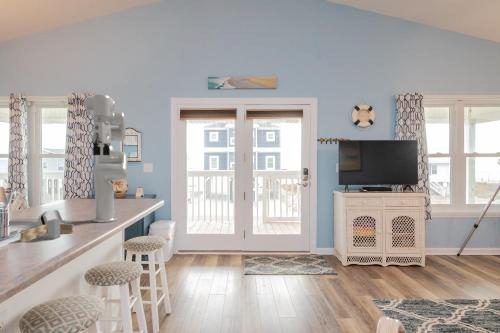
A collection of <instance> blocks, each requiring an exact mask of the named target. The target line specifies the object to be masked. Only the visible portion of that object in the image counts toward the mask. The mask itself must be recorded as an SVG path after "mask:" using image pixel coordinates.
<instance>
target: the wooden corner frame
mask: <svg viewBox="0 0 500 333" xmlns="http://www.w3.org/2000/svg"><path fill="white" fill-rule="evenodd" d="M42 233H47V234H48V224H45V225H42V226H40V225H38V226H37V227H33V228H29V229H26V230H24V231H21V232H20V243H25V242H26V241H29V240H33V239H36V236H37V235H39V234H42ZM73 233H74V224H73V223H66V224H60V234H73Z"/></svg>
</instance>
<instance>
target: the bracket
mask: <svg viewBox="0 0 500 333" xmlns="http://www.w3.org/2000/svg"><path fill="white" fill-rule="evenodd" d="M59 238H61V233H60V219H52V220H49V221H48V233H42V234H39V235H37V236H36V238H35V239H36V240H57V239H59Z"/></svg>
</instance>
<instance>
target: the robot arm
mask: <svg viewBox="0 0 500 333" xmlns="http://www.w3.org/2000/svg"><path fill="white" fill-rule="evenodd" d="M83 105H84V108H85V112H86V114H88V115H89V116H91V117H92V118H93V121H92V122H93V127H92V128H93V130H92V136H91V141H92V148H93V149H92V153H93V156H97V164H96V165H95V166H93V170H92V171H93V178H94V179H93V180H94V217H92V219H91V221H92V222H93V223H107V222H108V223H110V222H114V221H116V220H118V219H117V217H116V216H115V214H116V210H114V209H115V204H114V203H115V197H114V196H115V190H114V186H113V185H112V184H111V183H110V181H114V182H116V181H125V180H126V179H127V177H128V155H127V154H126V152H124V151H115V147H114V146H113V145H112V144H111V143H112V142H123V141H125V140H126V131H127V130H126V116H125V113H124V112H123V111H118V110H115V109H116V102H115V100H114V99H113V98H111V97H110V95H106V94H101V93H100V94H94V95H89V96H86V97H85V99H84V102H83ZM114 126H115V127H114Z"/></svg>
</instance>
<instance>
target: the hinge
mask: <svg viewBox="0 0 500 333" xmlns="http://www.w3.org/2000/svg"><path fill="white" fill-rule="evenodd" d="M52 219H60V224H67V221H66V220H63V218H62V215H61V213H60V212H59V210H56V209H50V210H47V211H44V212H42V213H41V214H40V215H39V216H38V217H37V220H38V222H39V226H42V225H45V224H48V221H49V220H52Z"/></svg>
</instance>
